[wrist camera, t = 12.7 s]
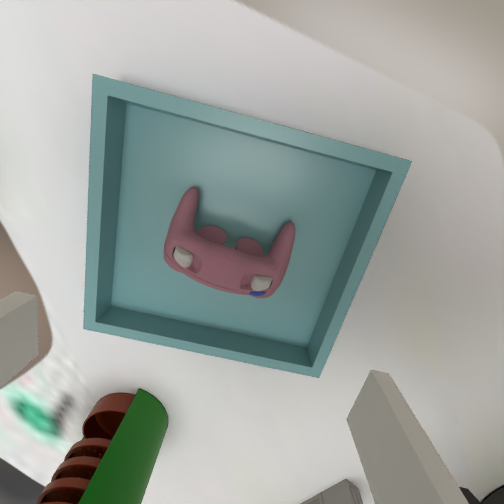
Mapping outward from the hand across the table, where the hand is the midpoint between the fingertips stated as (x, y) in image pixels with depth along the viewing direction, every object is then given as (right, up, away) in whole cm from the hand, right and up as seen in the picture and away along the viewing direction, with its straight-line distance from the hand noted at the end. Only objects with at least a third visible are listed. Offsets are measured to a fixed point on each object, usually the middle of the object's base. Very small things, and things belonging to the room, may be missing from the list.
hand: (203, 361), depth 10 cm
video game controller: (0, +6, +13) cm, 14 cm away
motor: (-13, -16, +22) cm, 30 cm away
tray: (0, +5, +14) cm, 15 cm away
